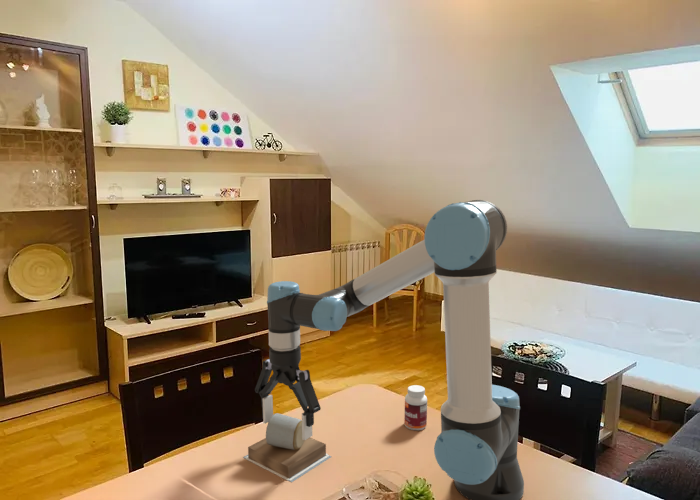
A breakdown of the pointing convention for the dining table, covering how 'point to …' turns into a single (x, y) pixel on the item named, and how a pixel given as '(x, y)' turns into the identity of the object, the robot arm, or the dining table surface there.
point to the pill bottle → (415, 408)
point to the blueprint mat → (297, 473)
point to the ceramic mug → (284, 432)
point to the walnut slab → (287, 456)
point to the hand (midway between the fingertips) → (287, 429)
